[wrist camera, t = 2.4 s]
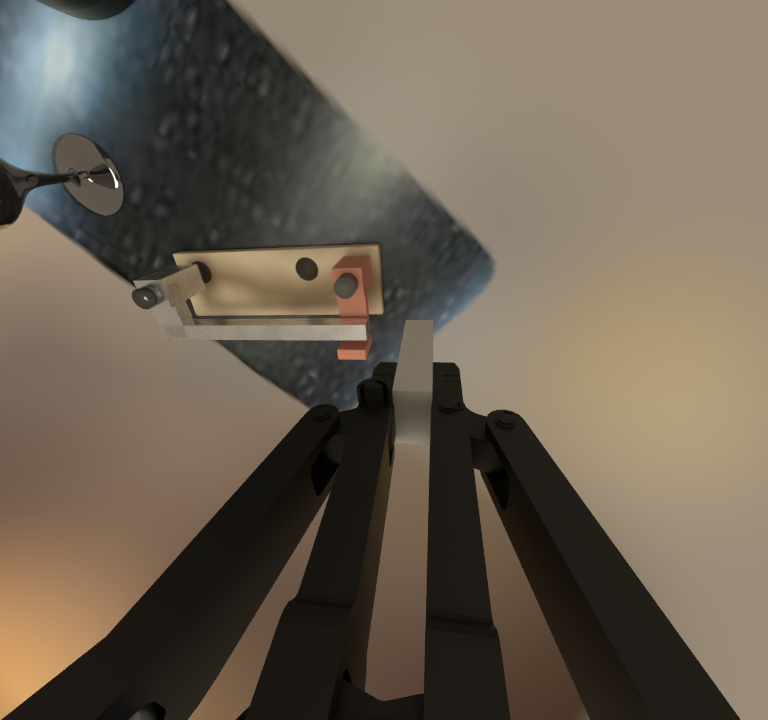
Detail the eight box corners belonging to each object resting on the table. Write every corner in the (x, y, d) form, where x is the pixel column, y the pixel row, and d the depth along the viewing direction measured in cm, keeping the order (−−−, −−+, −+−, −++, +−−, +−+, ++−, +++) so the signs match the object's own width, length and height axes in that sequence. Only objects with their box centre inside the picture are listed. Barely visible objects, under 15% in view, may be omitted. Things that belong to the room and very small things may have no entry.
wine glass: (40, 176, 33) (-211, 183, 20) (59, 106, 29) (-230, 60, 16) (113, 236, 35) (-70, 276, 22) (139, 177, 31) (-60, 186, 19)
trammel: (185, 260, 34) (121, 285, 27) (373, 253, 31) (355, 279, 24) (205, 313, 37) (152, 347, 30) (377, 311, 34) (363, 349, 27)
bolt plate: (180, 251, 35) (172, 254, 34) (379, 243, 32) (377, 246, 31) (203, 311, 38) (196, 315, 37) (384, 309, 35) (382, 314, 34)
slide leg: (344, 255, 31) (325, 274, 26) (370, 254, 31) (356, 274, 25) (353, 329, 35) (338, 359, 30) (376, 329, 35) (366, 359, 29)
